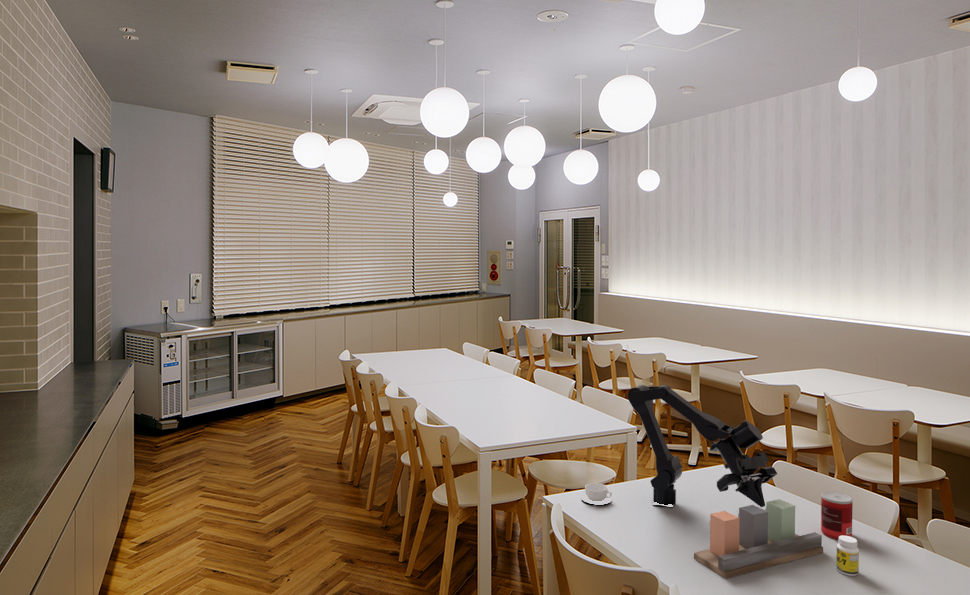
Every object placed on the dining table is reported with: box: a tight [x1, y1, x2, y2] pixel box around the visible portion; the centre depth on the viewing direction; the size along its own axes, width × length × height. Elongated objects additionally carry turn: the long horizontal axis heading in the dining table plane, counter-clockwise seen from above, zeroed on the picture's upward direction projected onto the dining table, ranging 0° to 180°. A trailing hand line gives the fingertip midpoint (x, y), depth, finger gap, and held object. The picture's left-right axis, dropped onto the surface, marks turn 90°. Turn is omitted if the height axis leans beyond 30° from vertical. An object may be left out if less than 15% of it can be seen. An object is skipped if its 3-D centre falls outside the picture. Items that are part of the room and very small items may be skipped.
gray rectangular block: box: [737, 504, 768, 549], centre depth 156 cm, size 6×5×10 cm
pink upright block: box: [709, 510, 739, 556], centre depth 152 cm, size 6×5×10 cm
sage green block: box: [764, 499, 796, 542], centre depth 160 cm, size 6×5×10 cm
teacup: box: [584, 482, 613, 501], centre depth 193 cm, size 10×10×5 cm
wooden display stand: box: [693, 532, 824, 580], centre depth 154 cm, size 11×34×4 cm, turn 112°
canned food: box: [820, 491, 854, 541], centre depth 166 cm, size 8×8×11 cm
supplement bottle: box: [835, 535, 860, 577], centre depth 145 cm, size 5×5×8 cm
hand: (763, 506), depth 165 cm, fingers closed
